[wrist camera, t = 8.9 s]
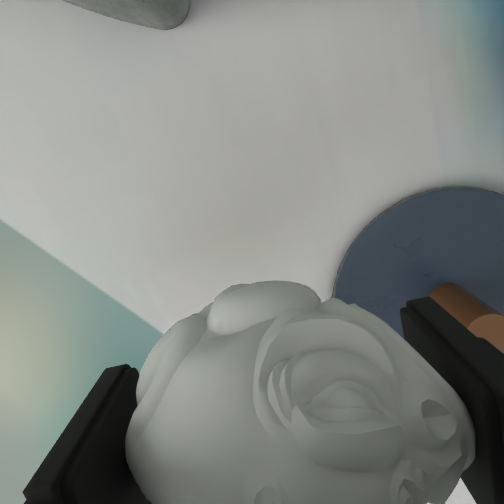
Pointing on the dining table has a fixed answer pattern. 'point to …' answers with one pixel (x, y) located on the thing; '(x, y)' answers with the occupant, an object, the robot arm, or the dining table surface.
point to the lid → (432, 260)
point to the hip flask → (140, 11)
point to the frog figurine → (293, 408)
